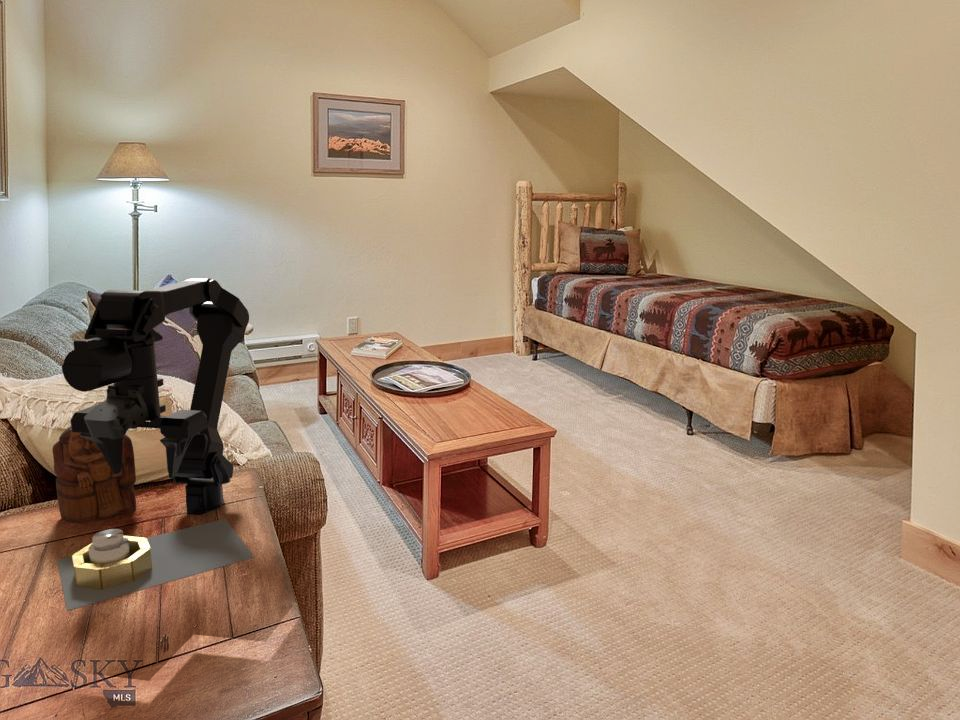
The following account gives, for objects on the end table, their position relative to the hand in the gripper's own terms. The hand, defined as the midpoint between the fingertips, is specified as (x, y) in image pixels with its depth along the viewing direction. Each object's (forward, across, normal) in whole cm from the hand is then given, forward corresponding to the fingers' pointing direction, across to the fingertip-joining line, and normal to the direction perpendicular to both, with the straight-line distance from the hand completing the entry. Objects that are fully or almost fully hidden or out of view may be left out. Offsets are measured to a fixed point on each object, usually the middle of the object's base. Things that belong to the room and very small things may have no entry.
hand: (144, 475), depth 97 cm
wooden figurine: (+13, -16, +9) cm, 23 cm away
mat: (+13, +3, -4) cm, 14 cm away
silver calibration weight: (+12, -1, -8) cm, 14 cm away
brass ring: (+12, 0, -8) cm, 14 cm away
